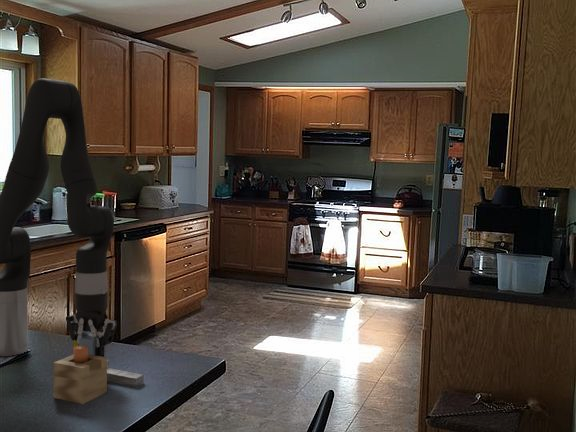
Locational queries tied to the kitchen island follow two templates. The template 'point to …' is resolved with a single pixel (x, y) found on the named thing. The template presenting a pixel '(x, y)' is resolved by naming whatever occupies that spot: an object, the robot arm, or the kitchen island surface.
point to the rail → (124, 377)
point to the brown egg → (80, 354)
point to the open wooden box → (80, 379)
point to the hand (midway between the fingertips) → (91, 359)
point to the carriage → (89, 345)
